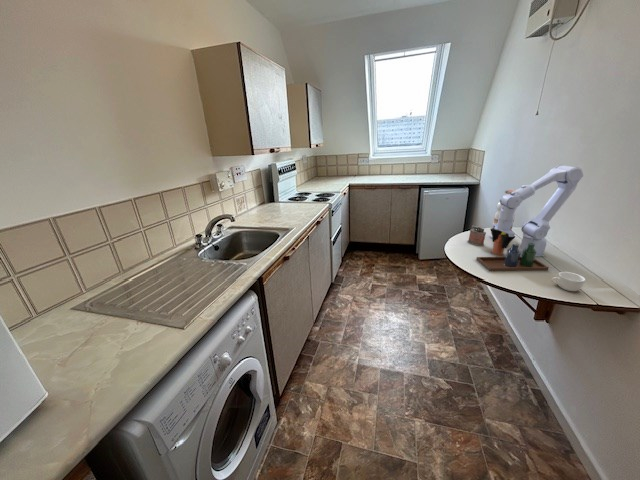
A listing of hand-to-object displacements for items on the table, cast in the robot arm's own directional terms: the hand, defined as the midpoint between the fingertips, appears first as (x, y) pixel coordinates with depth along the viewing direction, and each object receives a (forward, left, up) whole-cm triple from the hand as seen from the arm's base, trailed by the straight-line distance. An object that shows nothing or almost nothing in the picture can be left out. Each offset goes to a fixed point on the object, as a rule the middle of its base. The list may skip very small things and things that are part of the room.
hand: (499, 245), depth 134 cm
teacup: (-8, +32, -5) cm, 33 cm away
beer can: (-8, -11, -5) cm, 15 cm away
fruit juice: (-13, -21, -5) cm, 25 cm away
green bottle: (-6, +13, -5) cm, 15 cm away
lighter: (+4, -14, -5) cm, 15 cm away
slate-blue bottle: (+1, +13, -5) cm, 14 cm away
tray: (+1, +13, -5) cm, 14 cm away
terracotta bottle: (0, 0, -5) cm, 5 cm away
